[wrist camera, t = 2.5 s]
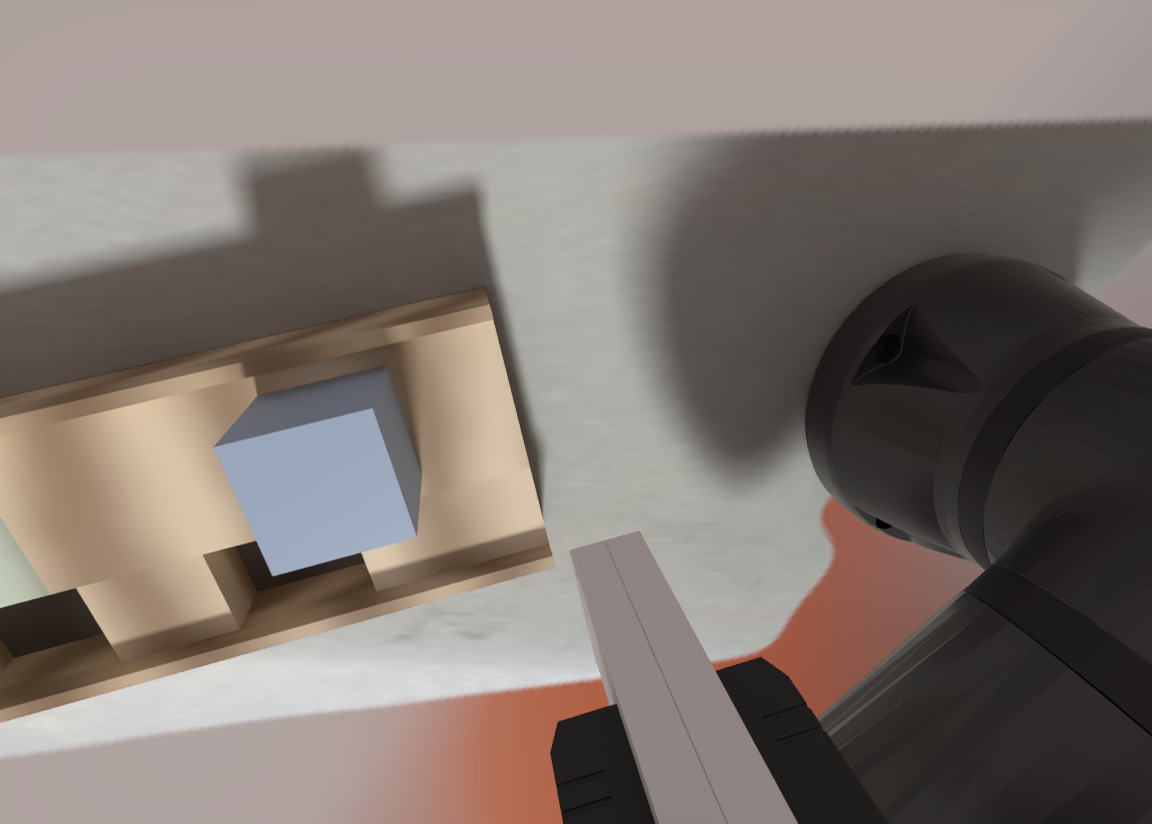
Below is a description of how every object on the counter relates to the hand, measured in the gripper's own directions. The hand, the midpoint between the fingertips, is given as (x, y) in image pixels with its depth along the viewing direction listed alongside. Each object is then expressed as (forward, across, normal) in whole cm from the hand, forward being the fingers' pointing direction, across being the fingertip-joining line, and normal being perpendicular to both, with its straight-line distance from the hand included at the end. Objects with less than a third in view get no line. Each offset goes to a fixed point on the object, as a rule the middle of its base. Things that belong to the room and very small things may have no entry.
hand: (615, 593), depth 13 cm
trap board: (+17, +16, +2) cm, 23 cm away
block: (+14, +8, 0) cm, 16 cm away
